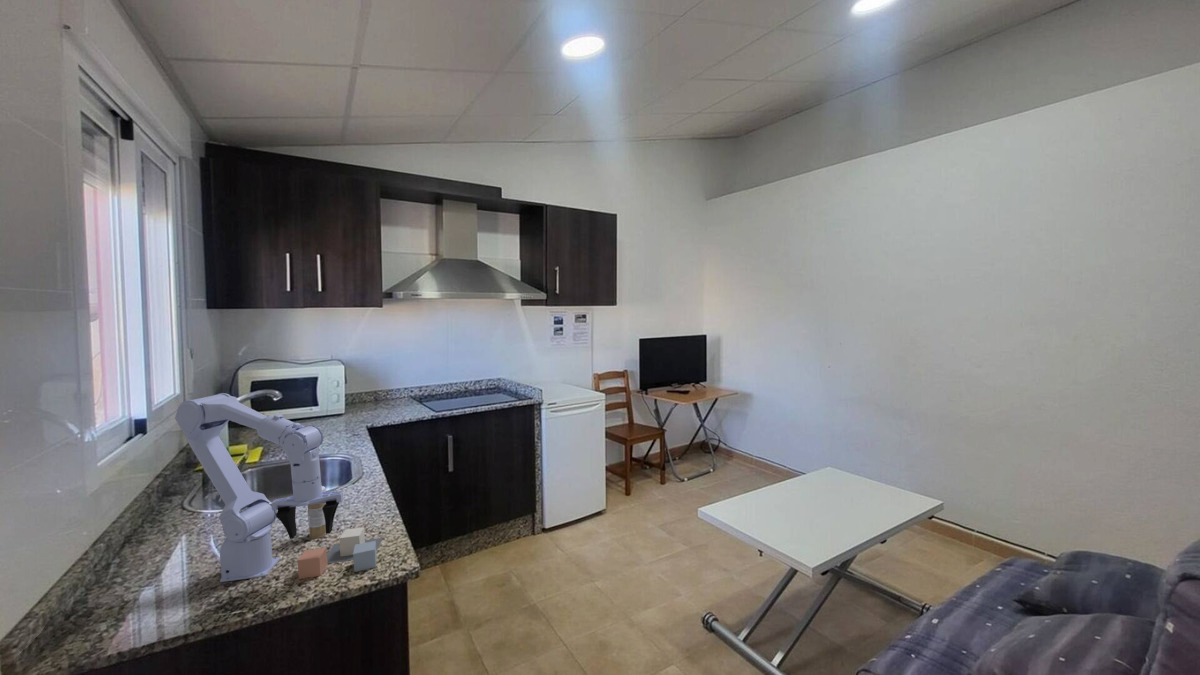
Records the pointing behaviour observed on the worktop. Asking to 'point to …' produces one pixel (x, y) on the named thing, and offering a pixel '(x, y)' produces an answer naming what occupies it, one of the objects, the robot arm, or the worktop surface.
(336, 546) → the mat
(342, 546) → the cream brick
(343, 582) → the worktop surface
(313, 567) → the terracotta brick
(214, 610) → the worktop surface
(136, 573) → the worktop surface
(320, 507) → the sprinkles bottle
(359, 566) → the slate brick
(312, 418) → the worktop surface
